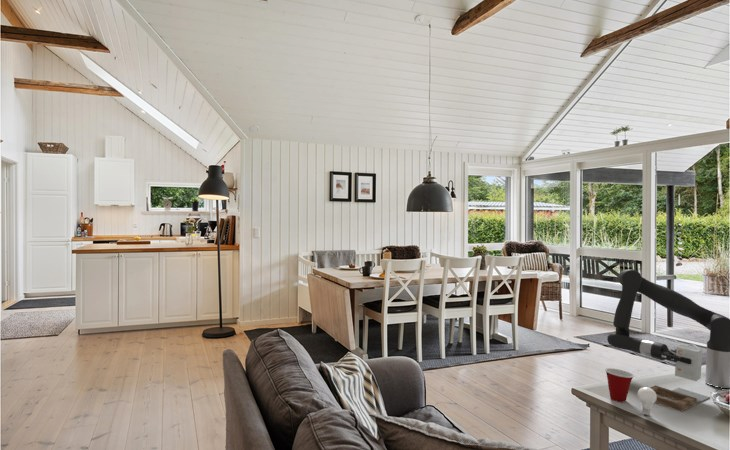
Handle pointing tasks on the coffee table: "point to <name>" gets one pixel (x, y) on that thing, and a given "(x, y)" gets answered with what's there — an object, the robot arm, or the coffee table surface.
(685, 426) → the coffee table surface
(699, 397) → the mat
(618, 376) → the plastic cup
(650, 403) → the lightbulb
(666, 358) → the robot arm
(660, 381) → the coffee table surface
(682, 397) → the holder
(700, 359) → the small box
